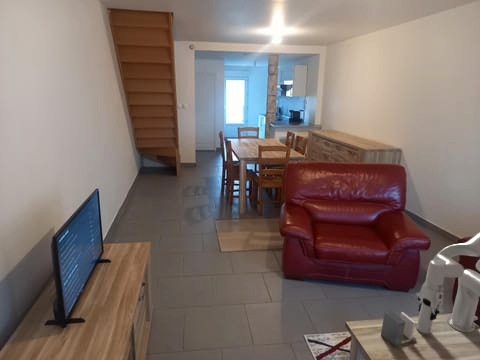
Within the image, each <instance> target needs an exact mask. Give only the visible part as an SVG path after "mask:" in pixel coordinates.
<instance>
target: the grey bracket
mask: <svg viewBox="0 0 480 360" xmlns="http://www.w3.org/2000/svg"><path fill="white" fill-rule="evenodd" d="M381 325H382V327H381V332H380V337H381V338H382V339H383V340H385V341H386V342H387V344H389V346H391V347H392V348H393V349H396V348H400V347H403V346H406V345H410V344H412V343H416V342H417V338H416V337H414V336H413V337H412V340H413V341H412V340H410V339H409V338H407V337H406V336H405V335H404V334H403V331H404V326H405V321H403V320H402V319H401V318H400V316H399V315H397V313H395V312H394V311H392V310H388V311H387V310H386V311H384V315H383V320H382V324H381Z"/></svg>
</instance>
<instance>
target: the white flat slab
mask: <svg viewBox="0 0 480 360" xmlns="http://www.w3.org/2000/svg"><path fill="white" fill-rule="evenodd" d="M399 315H400V316H399V317H400V318H401V319H402V320H403V321H405V326H404V331H403V334H404V335H405V336H406V337H407V338H409V339H410V340H412V337H414V332H415V328H416V321H415V320H413V318H411V317H410V316H409V315H407V314H406V313H405V312H403V311H401V312H400V314H399ZM412 341H413V340H412Z"/></svg>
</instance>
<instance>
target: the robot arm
mask: <svg viewBox="0 0 480 360" xmlns="http://www.w3.org/2000/svg"><path fill="white" fill-rule="evenodd" d="M457 256H469V257H477V258H478V257H480V231H478V232H477V233H476V234H475V235H474V236H472V237H471V238H469V240H467V241H466V242H463V243H456V244H452V245H448V246H446V247H444V248H443V249H441V250H440V251H439V252H437V253H436V255H434V257H433V259H431V260H430V261H429V262H428V263H429V264H428V267H427V273H426V276H425V277H426V278H425V281H424V282H423V284H422V286H421V288H420V291H419V292H416V293H415V295H416V298H417V300H418V304H419V306H418V312H419V313H420V310H421V305H422V301H423V298H424V299H426V300H428V301H429V302H431V305H430V306H431V308H432V312H433V313H431V317H430V320H433V321H434V320H436V319H437V316H438V315H437V314H442V313H445V310H444V308H443V302H444V290H445V288H444V287H443V286H444V280H445V278H452V279H453V278H455V279H456V278H458V279H457V280H458V282H457V283H458V286H457V291H456V292H457V293H456V296H455V300H454V303H453V304H454V305H453V308H452V313H451V315H449V316H447V319H446V322H447V324H448V325H449V326H450V327H452V328H453V329H454V330H457V331H459V332H463V333H473V332H474V331H475V329H476V325H474V323H473V322H474V321H477V320H479V318H478V316H477V315H476V312H477V307H478V303H479V300H480V299H479V298H480V273H479V272H480V259H479V260H477V262H476V264H475V269H476V270H477V271H478V272H477V271H475V270H473V269H469V268H464V266H463V265H462V264H460V263H458V262H457V261H456V260H454V259H453V257H457Z"/></svg>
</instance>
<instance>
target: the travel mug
mask: <svg viewBox="0 0 480 360" xmlns="http://www.w3.org/2000/svg"><path fill="white" fill-rule="evenodd" d="M430 305H431V302H429V301H428V300H426V299H424V298H423V301H422V305H421V310H420V312H419V313H418V314H419V315H418V320H417V324H416V327H415V328H416V331H417V332H418V333H420V334H422V335H423V336H425V335H430V334H431V329H432V325H433V321H434V320H430V317H431V313H433V312H432V308H431V306H430Z"/></svg>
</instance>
